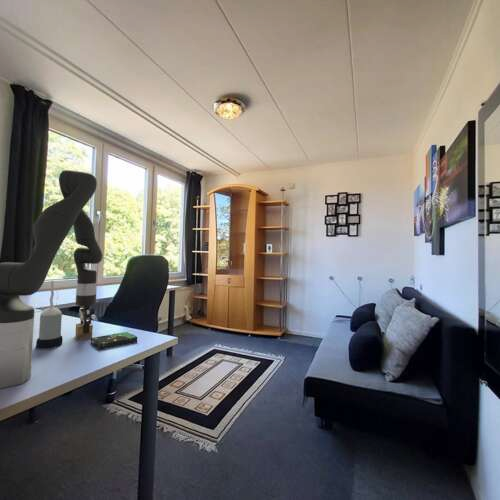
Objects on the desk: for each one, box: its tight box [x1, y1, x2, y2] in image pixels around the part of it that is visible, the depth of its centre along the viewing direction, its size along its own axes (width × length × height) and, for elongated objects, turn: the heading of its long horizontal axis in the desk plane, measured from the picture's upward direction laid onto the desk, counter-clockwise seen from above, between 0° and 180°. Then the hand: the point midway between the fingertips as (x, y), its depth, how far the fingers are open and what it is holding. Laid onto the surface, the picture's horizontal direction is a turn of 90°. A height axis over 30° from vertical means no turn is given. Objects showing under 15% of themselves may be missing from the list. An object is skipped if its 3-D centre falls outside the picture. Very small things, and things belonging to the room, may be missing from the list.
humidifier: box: [35, 280, 64, 350], centre depth 103 cm, size 8×8×25 cm
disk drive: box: [90, 331, 138, 351], centre depth 109 cm, size 10×3×15 cm
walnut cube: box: [74, 322, 94, 341], centre depth 114 cm, size 6×6×6 cm
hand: (84, 330), depth 114 cm, fingers open, 8 cm apart
